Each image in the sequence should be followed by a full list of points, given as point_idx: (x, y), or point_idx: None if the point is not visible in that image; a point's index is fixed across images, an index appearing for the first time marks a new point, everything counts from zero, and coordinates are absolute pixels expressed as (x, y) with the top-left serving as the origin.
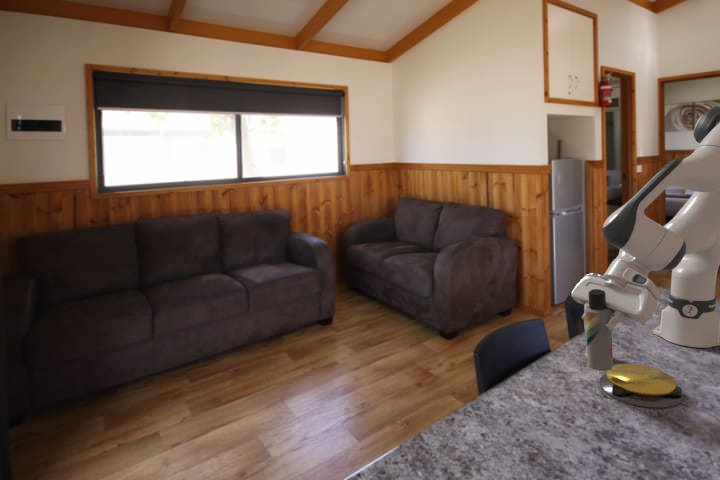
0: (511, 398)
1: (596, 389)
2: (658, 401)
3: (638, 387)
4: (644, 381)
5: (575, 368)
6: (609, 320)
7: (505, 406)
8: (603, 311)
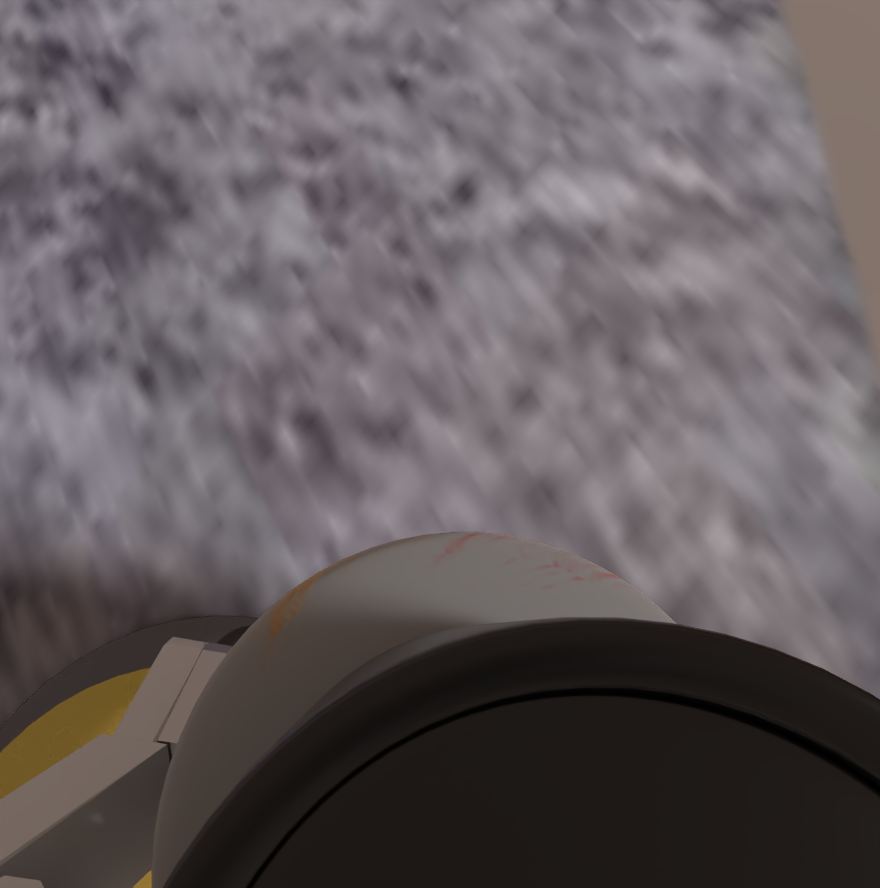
0: (685, 143)
1: None
2: None
3: (115, 729)
4: None
5: None
6: (157, 726)
7: (643, 57)
8: (235, 713)
